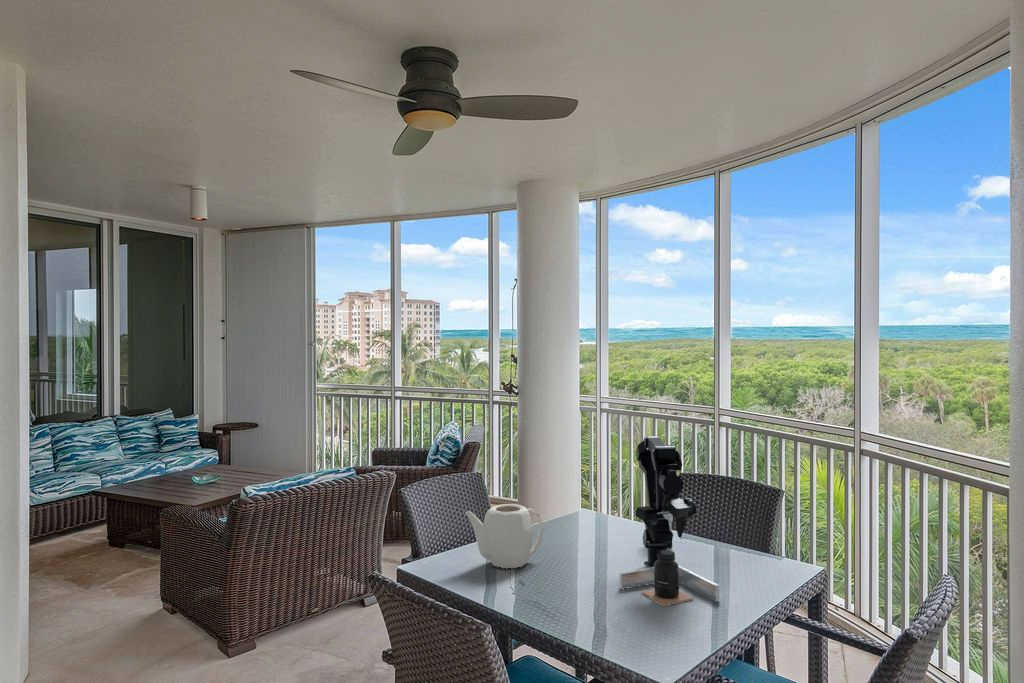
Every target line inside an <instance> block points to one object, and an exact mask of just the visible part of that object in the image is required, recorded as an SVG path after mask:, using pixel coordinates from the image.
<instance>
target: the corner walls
mask: <svg viewBox="0 0 1024 683" xmlns="http://www.w3.org/2000/svg"><path fill="white" fill-rule="evenodd" d="M678 566H679V583H680V582H681V583H683V584H685V585H687V586H689V587H690V588H689V587H688V588H689V589H691V588H692V589H691V590H693V589H694V590H695V591H694V590H693V591H694V592H696V591H697V592H696V593H698V594H700V595H702V596H704V597H706V598H707V599H710V600H711V601H714V603H719V602H720V584H718V583H715V582H714V581H712V580H710V579H708V578H705V576H701V575H700V574H698V573H695V572H694V571H691V570H690V569H688V568H687V567H686V568H685V567H684V566H681V565H679V564H678ZM652 583H654V567H650V566H649V567H646V568H641V569H640V568H639V569H634V570H628V571H622V572H619V589H620V588H627V587H633V586H639V585H644V586H647V585H646V584H649V585H653V584H652ZM681 583H680V584H681ZM683 584H682V585H683ZM685 585H684V586H685ZM687 586H686V587H687ZM639 587H640V586H639ZM633 588H634V587H633Z"/></svg>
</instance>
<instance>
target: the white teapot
mask: <svg viewBox="0 0 1024 683" xmlns="http://www.w3.org/2000/svg"><path fill="white" fill-rule="evenodd" d="M464 513H465V514H466V516H467V518H468V519H469V521H470V524H471V526H472V529H473V531H474V536H475V539H476V543H477V547H478V551H479V554H480V556H482V558H484V559H487V560H489V561H490V562H491V564H492V566H493V567H494V566H497V567H496V568H498V567H501V569H504V568H506V569H505V570H508V569H507V568H511V569H519V568H518V567H520V568H522V567H523V566H525V565H526V564H528V562H529V559H530V557H531V556H532V555H534V554H535V553H536V551H537V550H538V548H540V546H541V544H542V539H543V536H544V526H543V523H542V519H541V516H540V514H539V513H538V512H537V511H536V510H534V509H533V508H532V507H531V508H530V507H529V508H527V507H525V506H524V505H521V504H515V503H504V504H498V505H494V506H492V507H491V508H490V509H487V511H486V513H485V516H484V520H483V521H484V522H482V521H481V520H480V519H479V517H477V516H476V515H475V513H473V512H472V511H471V510H468V511H465V512H464ZM532 515H534V516H535V517H536V519H537V522H538V534H537V537H536V540H535V541H536V542H535V543H534V544H533V546H532V543H533V533H534V529H533V524H532V518H531V516H532Z"/></svg>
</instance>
